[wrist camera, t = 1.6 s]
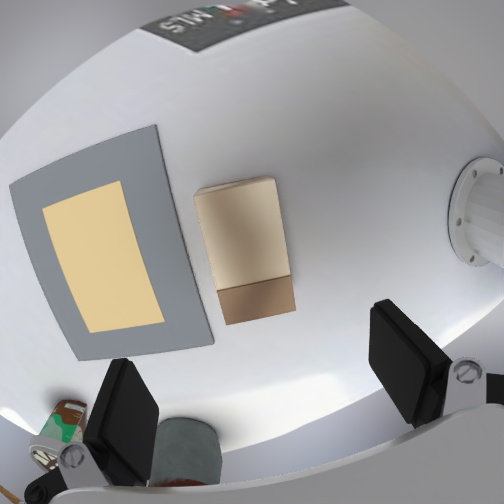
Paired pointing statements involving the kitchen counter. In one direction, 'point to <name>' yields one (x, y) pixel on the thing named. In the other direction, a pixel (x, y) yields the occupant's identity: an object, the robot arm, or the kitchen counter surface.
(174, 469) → the bottle
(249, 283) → the birch block
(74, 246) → the mat
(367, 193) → the kitchen counter surface
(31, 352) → the kitchen counter surface
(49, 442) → the food container
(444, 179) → the kitchen counter surface
